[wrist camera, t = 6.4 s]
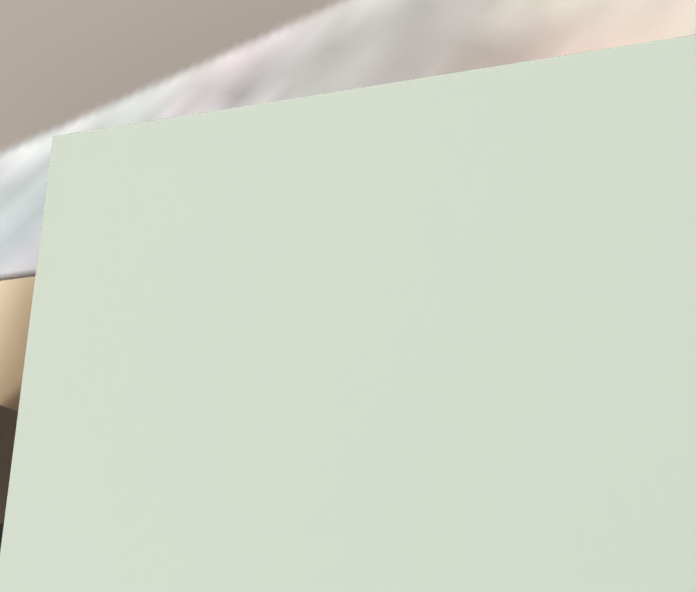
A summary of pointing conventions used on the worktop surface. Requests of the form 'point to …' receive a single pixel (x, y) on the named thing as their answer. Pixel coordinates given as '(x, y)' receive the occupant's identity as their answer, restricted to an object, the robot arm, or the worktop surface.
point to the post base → (11, 368)
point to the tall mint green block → (371, 341)
